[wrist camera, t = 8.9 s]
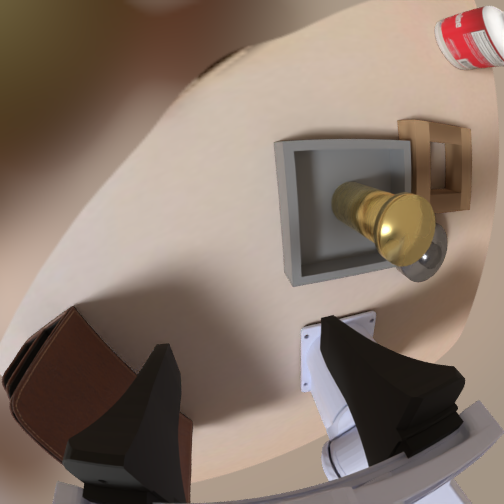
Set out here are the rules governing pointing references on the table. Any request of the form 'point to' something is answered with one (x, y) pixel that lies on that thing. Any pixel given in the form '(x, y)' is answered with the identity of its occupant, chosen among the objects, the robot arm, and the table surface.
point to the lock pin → (387, 220)
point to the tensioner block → (456, 163)
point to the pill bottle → (473, 38)
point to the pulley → (428, 258)
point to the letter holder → (72, 387)
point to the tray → (319, 203)
